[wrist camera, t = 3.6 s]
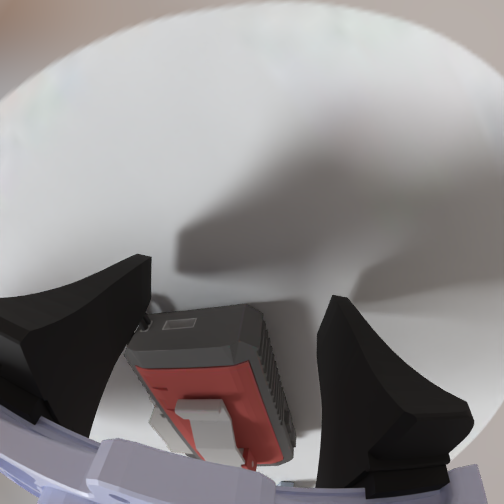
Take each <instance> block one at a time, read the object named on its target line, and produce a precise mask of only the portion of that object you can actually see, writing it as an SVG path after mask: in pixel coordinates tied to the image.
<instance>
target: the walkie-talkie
mask: <svg viewBox="0 0 504 504" xmlns="http://www.w3.org/2000/svg"><path fill="white" fill-rule="evenodd" d="M265 325H266V323H265V321H263V313H261V312H260V311H258V310H256V309H255V308H253V307H251V306H249V305H248V304H238V305H230V306H222V307H214V308H205V309H196V310H187V311H178V312H168V313H158V314H146V313H145V314H144V316H143V318H142V320H141V321H140V323H139V327H138V329H137V330H136V332H135V333H133V335H132V336H131V338H130V340H129V341H128V343H127V345H128V346H127V348H126V351H125V354H124V356H125V357H126V359H127V360H128V363H129V365H131V367H132V368H133V371H134V372H135V373H136V375H137V376H138V379H139V380H140V381H141V382H142V385H143V386H144V387H145V388H146V390H147V392H148V394H150V397H149V399H150V401H151V402H152V404H153V405H154V406H155V407H154V409H153V412H152V414H151V417H150V420H149V424H150V425H151V426H152V427H153V429H154V430H155V431H156V432H157V434H158V435H159V436H160V437H161V438H162V440H163V441H164V442H165V443H166V444H167V448H168V449H169V450H170V451H171V452H175V453H185V454H186V455H187V456H188V457H190V458H195V459H199V460H203V461H208V462H213V463H218V464H223V465H229V466H235V467H240V468H244V469H248V470H252V471H256V467H257V466H279V465H281V464H284V463H286V462H289V461H290V460H292V459H293V452H294V447H296V433H295V429H294V428H293V424H292V418H291V415H290V411H289V409H288V406H287V402H286V398H285V395H284V393H283V387H281V381H279V380H280V376H279V375H278V368H276V361H274V354H272V346H270V338H267V337H268V331H267V330H265Z"/></svg>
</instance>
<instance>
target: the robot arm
mask: <svg viewBox="0 0 504 504" xmlns="http://www.w3.org/2000/svg"><path fill="white" fill-rule="evenodd" d="M151 258H152V257H150V256H145V255H141V254H136V255H133V256H131V257H129V258H127V259H125V260H123V261H120V262H118V263H116V264H114V265H112V266H110V267H108V268H106V269H104V270H102V271H100V272H98V273H95V274H93V275H91V276H88V277H86V278H84V279H82V280H79V281H77V282H74V283H71V284H68V285H65V286H62V287H59V288H56V289H52V290H48V291H44V292H40V293H36V294H30V295H25V296H17V297H9V298H0V472H1V473H2V474H4V475H5V476H6V477H8V478H9V479H11V480H12V481H13V482H15V483H16V484H18V485H19V486H21V487H22V488H24V489H25V490H27V491H28V492H30V493H32V494H33V495H35V496H36V497H38V498H39V500H38V502H37V504H488V503H487V498H486V495H485V491H484V487H483V483H482V479H481V476H480V472H479V469H478V465H477V464H473V465H468V466H463V467H458V468H455V469H452V470H450V471H448V472H447V468H446V464H448V463H450V457H449V452H450V451H452V450H453V449H454V448H455V447H456V446H457V445H458V444H459V443H461V442H462V441H463V440H464V439H465V438H466V437H467V436H468V434H469V433H470V432H471V430H472V428H473V426H474V419H473V416H472V414H471V411H470V409H469V406H468V404H467V402H466V401H464V400H462V399H460V398H458V397H456V396H454V395H452V394H450V393H448V392H446V391H445V390H443V389H441V388H440V387H438V386H436V385H435V384H433V383H432V382H430V381H429V380H427V379H426V378H424V377H423V376H422V375H420V374H419V373H418V372H416V371H415V370H414V369H413V368H411V367H410V366H409V365H408V364H407V363H405V362H404V361H403V360H402V359H401V358H400V357H399V356H398V355H397V354H396V353H394V352H393V351H392V350H391V349H390V348H389V346H388V345H387V344H386V343H385V342H384V341H383V340H382V339H381V338H380V337H379V336H378V334H377V333H376V332H375V331H374V330H373V329H372V327H371V326H370V325H369V324H368V322H367V321H366V320H365V319H364V318H363V316H362V315H361V314H360V312H359V311H358V310H357V309H356V307H355V306H354V305H353V304H352V303H351V301H350V300H349V299H348V298H347V297H341V296H336V295H332V297H331V300H330V303H329V305H328V308H327V310H326V313H325V316H324V318H323V321H322V323H321V326H320V328H319V330H318V333H317V364H318V373H319V381H320V390H321V400H322V430H321V446H320V457H319V466H318V474H317V481H316V487H315V488H301V487H286V486H276V484H275V482H274V481H273V480H272V479H270V478H269V477H267V476H265V475H263V474H262V473H260V472H256V471H252V470H248V469H244V468H240V467H235V466H229V465H223V464H218V463H213V462H208V461H203V460H199V459H195V458H190V457H186V456H182V455H178V454H174V453H171V452H167V451H163V450H160V449H156V448H153V447H150V446H147V445H143V444H140V443H137V442H133V441H128V440H124V439H120V438H116V439H108V440H103V441H102V442H101V443H99V442H96V441H94V440H91V439H89V435H90V431H91V428H92V424H93V421H94V418H95V415H96V412H97V409H98V406H99V403H100V400H101V397H102V394H103V392H104V389H105V387H106V384H107V382H108V379H109V377H110V375H111V372H112V370H113V368H114V365H115V363H116V362H117V360H118V358H119V356H120V354H121V353H122V351H123V349H124V348H125V346H126V344H127V343H128V341H129V340H130V338H131V336H132V335H133V333H134V331H135V330H136V328H137V326H138V325H139V323H140V321H141V320H142V318H143V316H144V314H145V311H146V309H147V307H148V304H149V302H150V300H151Z"/></svg>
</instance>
